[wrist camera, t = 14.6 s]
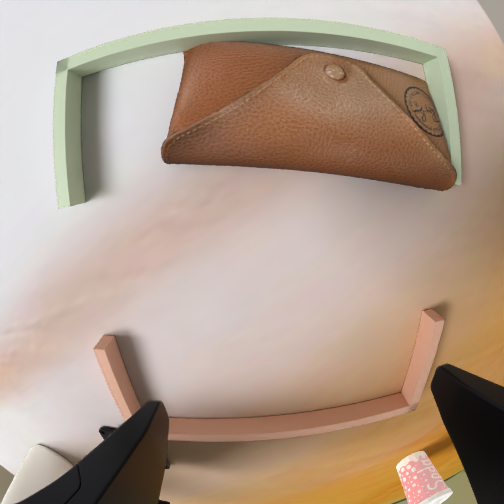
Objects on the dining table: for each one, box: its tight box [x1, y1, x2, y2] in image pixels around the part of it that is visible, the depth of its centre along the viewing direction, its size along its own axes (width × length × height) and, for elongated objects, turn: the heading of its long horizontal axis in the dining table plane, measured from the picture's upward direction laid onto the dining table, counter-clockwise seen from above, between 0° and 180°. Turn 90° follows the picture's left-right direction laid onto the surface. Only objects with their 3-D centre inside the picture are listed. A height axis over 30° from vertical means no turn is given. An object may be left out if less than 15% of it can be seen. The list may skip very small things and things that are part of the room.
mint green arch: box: [53, 18, 461, 209], centre depth 14 cm, size 10×26×2 cm, turn 94°
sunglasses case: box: [161, 41, 457, 191], centre depth 14 cm, size 18×7×7 cm
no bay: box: [93, 309, 445, 442], centre depth 20 cm, size 10×26×2 cm, turn 94°
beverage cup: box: [396, 451, 453, 504], centre depth 20 cm, size 6×6×14 cm
